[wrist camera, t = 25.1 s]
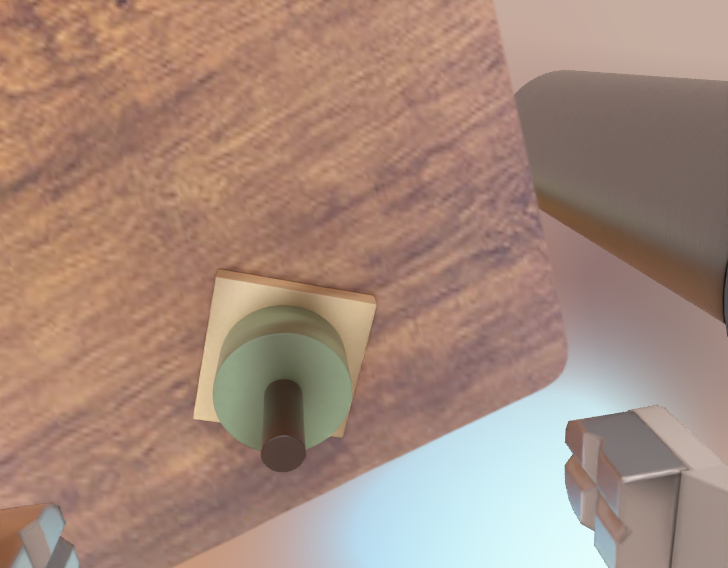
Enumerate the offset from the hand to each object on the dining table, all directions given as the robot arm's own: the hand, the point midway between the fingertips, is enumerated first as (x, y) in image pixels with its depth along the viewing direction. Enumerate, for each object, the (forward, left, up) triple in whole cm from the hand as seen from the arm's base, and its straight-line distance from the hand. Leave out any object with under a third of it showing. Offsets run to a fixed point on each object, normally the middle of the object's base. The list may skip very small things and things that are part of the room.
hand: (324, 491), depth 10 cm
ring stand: (-2, +12, -28) cm, 31 cm away
